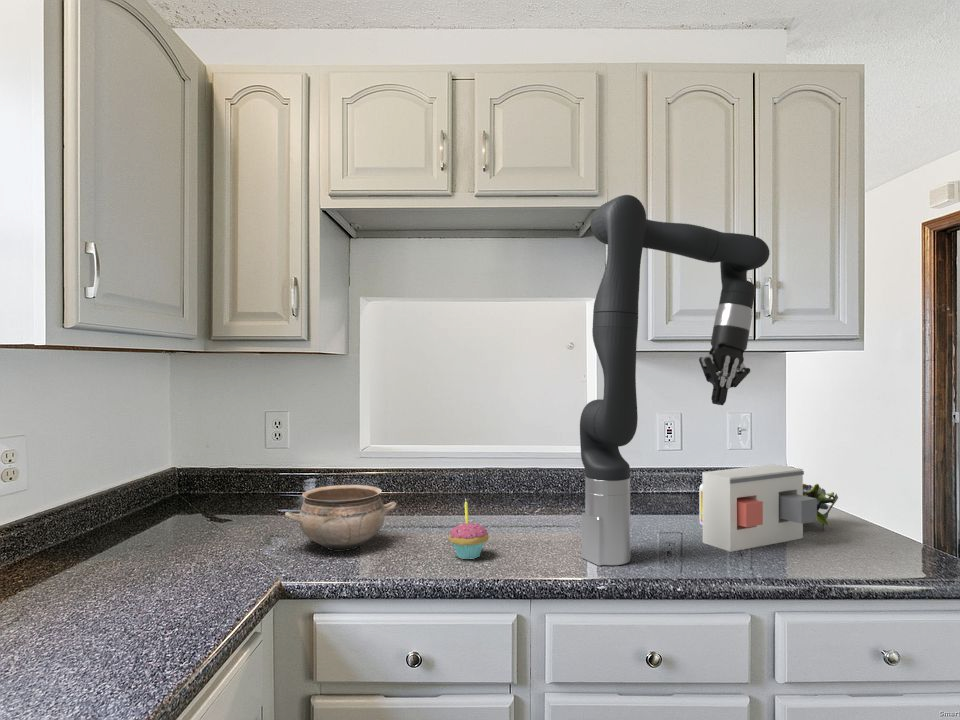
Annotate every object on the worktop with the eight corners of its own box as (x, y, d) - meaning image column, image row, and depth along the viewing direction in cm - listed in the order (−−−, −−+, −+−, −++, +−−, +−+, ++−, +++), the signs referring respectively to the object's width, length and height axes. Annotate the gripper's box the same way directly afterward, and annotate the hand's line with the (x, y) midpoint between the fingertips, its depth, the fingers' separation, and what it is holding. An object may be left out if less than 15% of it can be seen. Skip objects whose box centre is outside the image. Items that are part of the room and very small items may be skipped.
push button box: (731, 552, 142) (731, 478, 142) (702, 542, 150) (702, 472, 150) (804, 538, 153) (803, 469, 153) (773, 530, 160) (773, 464, 160)
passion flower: (802, 546, 167) (821, 500, 171) (839, 551, 156) (858, 501, 160) (763, 520, 166) (783, 473, 170) (797, 522, 154) (818, 472, 158)
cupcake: (443, 553, 143) (443, 498, 143) (480, 549, 146) (480, 494, 146) (456, 565, 135) (456, 506, 135) (495, 560, 138) (494, 502, 138)
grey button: (801, 523, 145) (801, 500, 145) (778, 517, 150) (778, 495, 150) (816, 521, 147) (816, 498, 147) (793, 515, 152) (793, 493, 152)
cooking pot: (385, 530, 162) (385, 480, 162) (408, 550, 145) (408, 495, 145) (280, 542, 153) (279, 489, 152) (291, 566, 135) (290, 506, 135)
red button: (746, 527, 142) (746, 504, 142) (724, 521, 147) (724, 498, 147) (762, 524, 144) (762, 501, 144) (740, 518, 150) (740, 496, 149)
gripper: (720, 319, 140) (705, 400, 139) (767, 333, 145) (753, 411, 143) (696, 321, 147) (682, 397, 146) (742, 334, 152) (728, 408, 150)
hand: (717, 404), depth 145 cm, fingers closed
